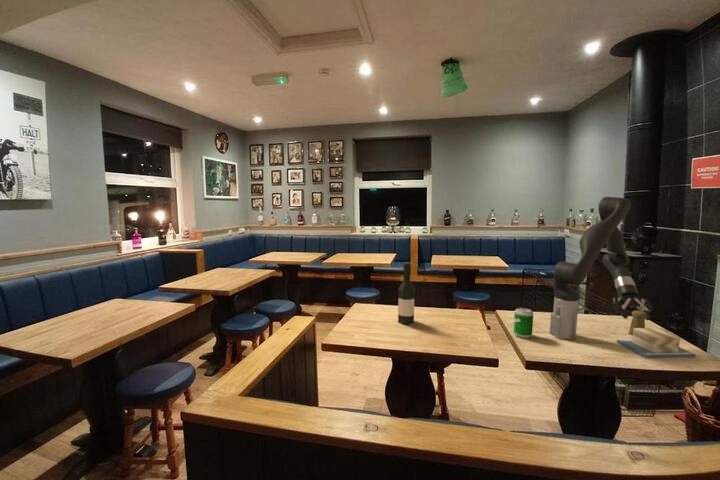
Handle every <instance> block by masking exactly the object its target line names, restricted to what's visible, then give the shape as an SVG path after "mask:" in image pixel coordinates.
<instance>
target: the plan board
mask: <svg viewBox="0 0 720 480" xmlns="http://www.w3.org/2000/svg"><path fill="white" fill-rule="evenodd" d="M616 344H618V345H621V346H622V347H624V348H625V349H627V350H630V351H631V352H632V353H633V352H634V353H635V354H637V355H639V356H641V357H642V358H643V359H644V358H645V359H662V358H663V359H665V358H667V359H669V358H671V359H672V358H673V359H675V358H696V353H694V352H691V351H689V350H687V349H684V348H682V347H680V346H679V350H678V352H659V353H653V352H651V351H649V350H647V349H645V348H643V347H641V346H640V345H638V344H636V343H634V342H632V339H616Z"/></svg>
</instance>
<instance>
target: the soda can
mask: <svg viewBox="0 0 720 480" xmlns="http://www.w3.org/2000/svg"><path fill="white" fill-rule="evenodd" d="M533 327H534V312H533V311H532V310H531V309H529V308H525V307H517V308H516V309H515V310H514V318H513V331H512V333H513V334H514V335H515V337H517V338H520V339H521V338H522V339H530V337H532V336H533V329H534V328H533Z"/></svg>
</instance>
